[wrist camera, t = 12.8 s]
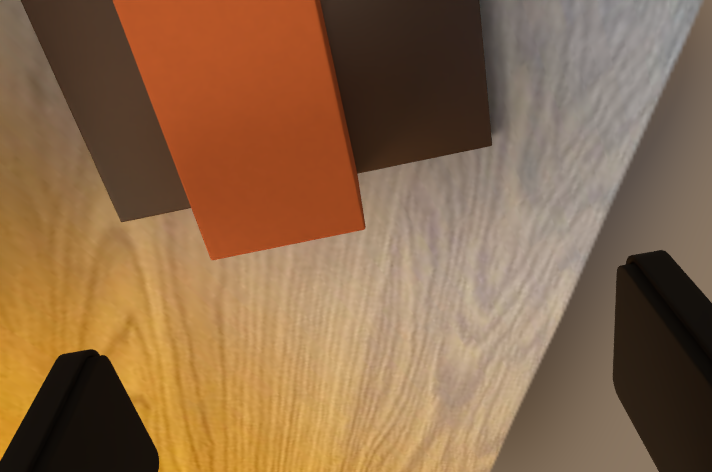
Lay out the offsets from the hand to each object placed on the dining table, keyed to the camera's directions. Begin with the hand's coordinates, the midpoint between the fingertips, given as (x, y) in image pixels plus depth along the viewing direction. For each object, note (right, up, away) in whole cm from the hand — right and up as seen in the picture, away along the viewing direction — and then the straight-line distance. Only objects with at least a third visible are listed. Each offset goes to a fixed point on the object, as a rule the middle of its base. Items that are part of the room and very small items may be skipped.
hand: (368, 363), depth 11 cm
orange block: (-4, +9, +14) cm, 17 cm away
